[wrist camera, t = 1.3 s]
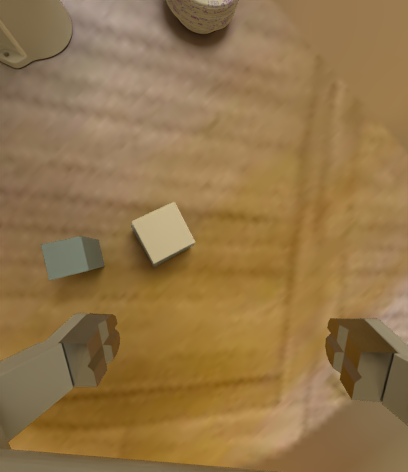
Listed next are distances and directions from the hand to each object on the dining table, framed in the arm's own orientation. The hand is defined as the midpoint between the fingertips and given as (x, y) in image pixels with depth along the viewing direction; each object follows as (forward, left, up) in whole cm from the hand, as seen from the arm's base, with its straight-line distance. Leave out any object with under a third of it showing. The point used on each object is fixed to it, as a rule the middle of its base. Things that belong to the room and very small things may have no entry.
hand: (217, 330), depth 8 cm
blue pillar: (-15, -1, -33) cm, 37 cm away
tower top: (-2, +6, -29) cm, 29 cm away
